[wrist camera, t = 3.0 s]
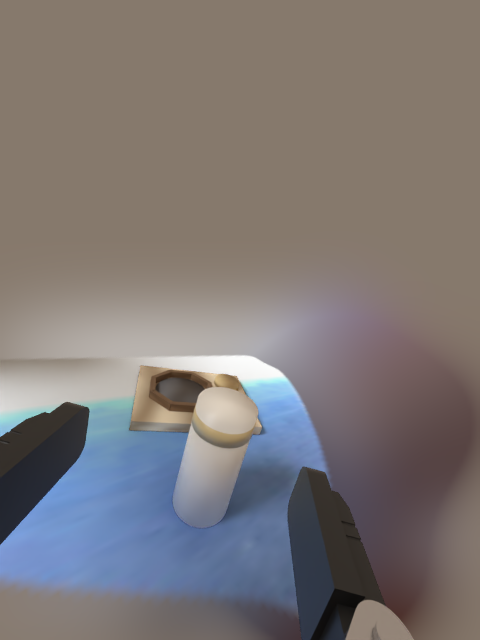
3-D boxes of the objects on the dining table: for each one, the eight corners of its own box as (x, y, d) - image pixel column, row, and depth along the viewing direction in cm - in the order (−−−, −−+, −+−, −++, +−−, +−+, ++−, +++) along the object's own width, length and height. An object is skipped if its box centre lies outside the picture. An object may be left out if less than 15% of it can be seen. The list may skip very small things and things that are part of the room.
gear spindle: (172, 531, 20) (201, 424, 18) (171, 475, 25) (193, 384, 22) (234, 526, 22) (268, 427, 20) (221, 474, 27) (248, 389, 24)
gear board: (129, 430, 29) (132, 413, 28) (139, 372, 41) (141, 359, 40) (259, 434, 34) (264, 420, 34) (234, 382, 46) (238, 371, 45)
